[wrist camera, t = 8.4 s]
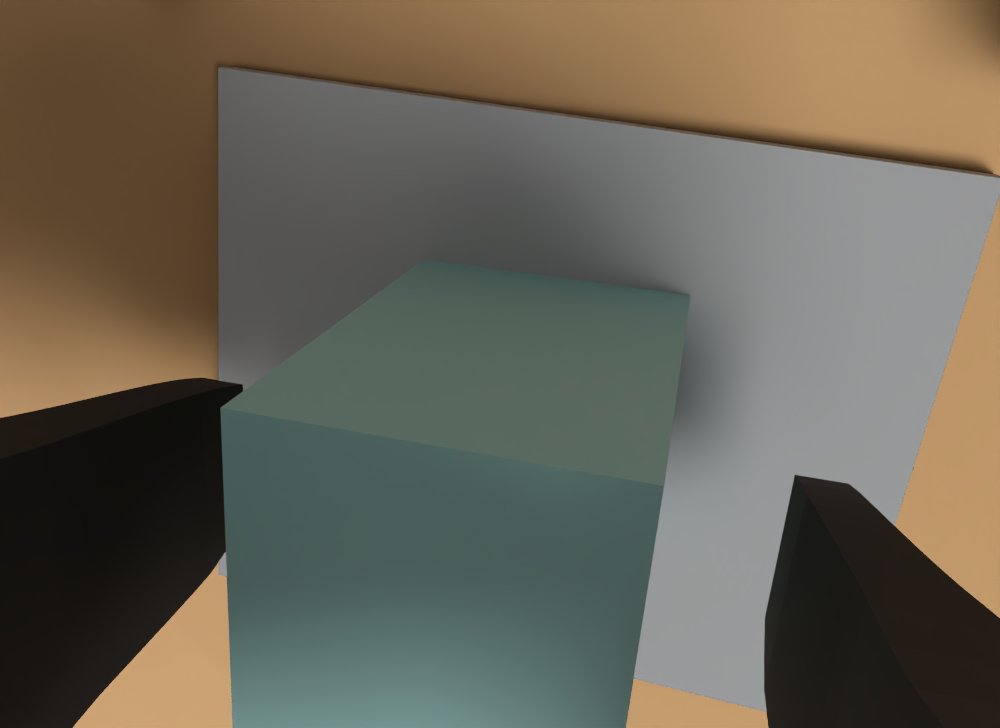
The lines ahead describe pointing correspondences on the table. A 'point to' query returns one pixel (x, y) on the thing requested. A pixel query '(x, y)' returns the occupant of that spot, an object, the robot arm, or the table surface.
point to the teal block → (452, 506)
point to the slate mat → (632, 263)
